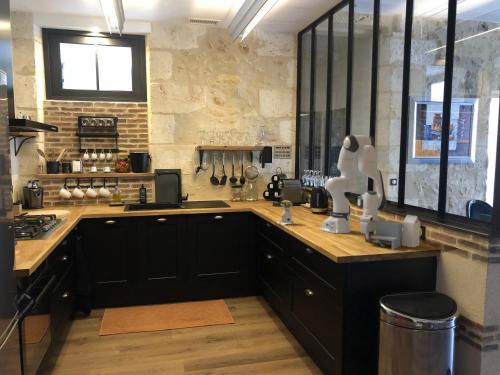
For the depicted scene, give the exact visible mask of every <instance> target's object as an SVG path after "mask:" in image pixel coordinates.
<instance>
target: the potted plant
mask: <svg viewBox="0 0 500 375" xmlns="http://www.w3.org/2000/svg"><path fill="white" fill-rule="evenodd" d="M293 205H294V203H292V201H290V200H287V199H286V200H282V201H280V206H281V207H283V208H284V209H283V211H282V213H281V216H280V219H281V220H280V221H277V225H282V226H286V225H288V226H289V225H294V220H292V219H293V218H292V214H293V213H292V211H291V209H290V208H292V207H293Z"/></svg>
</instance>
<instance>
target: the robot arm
mask: <svg viewBox="0 0 500 375" xmlns="http://www.w3.org/2000/svg"><path fill="white" fill-rule="evenodd" d="M342 144H343V145H342V147H341V149H340V151H339V155H338V156H339V157H338V160H337V161H338V162H337V166H336V167H337V169H338V171H340V176H334V177H331V178H328V179H327V180H326V181H325V188H326V191H327V192H329V194H330V196H331V197H332V198H331V199H332V205H333V206H332V211H330V212H329V214H330V216H329V217H327V218H326V219H325V220H324V221H323V222H322V225H321V227H319V228H318V230H319V231H321V232H325V233H326V232H327V233H331V234H349V233H351V232H352V231H351V226H350V216H351V215H350V214H351V213H350V200H349V199H348V198H346V195H345V193H348V192H349V193H350V192H353V191H355V190H357V188H358V185H359V184H358V180H357V178H356V177H355V173H354V169H355V163H356V158H357V155H358V160H357V162H358V164H357V165H358V170H359V173H361V174H362V175H363V176H365V177H368V178H370V179H372V180H373V181H374V182H375V188H376V191H374V190H366V191H364V193H363V194H360V195H359V196H358V198H357V207H358V208H359V209H360V210H363V212H362V215H361V216H360V218H359V221H360V224H359V231H360V233H361V234H364V236H365V235H366V239H369V237H370V236H369V232H374V233H375V231H376V221H379V220H380V219H379V217H378V216H379V212H378V211H383V210H384V209H385V208H386V207H387V205H388V201H387V197H386V192H385V186H384V179H383V175H382V171H381V170H380V169H379V168H378V166H377V155H376V153H377V152H376V148H375V144H376V143H375V139H374V138H373V136H371V135H367V134H366V135H364V134H350V135H346V136H344V139H343V143H342Z"/></svg>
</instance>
